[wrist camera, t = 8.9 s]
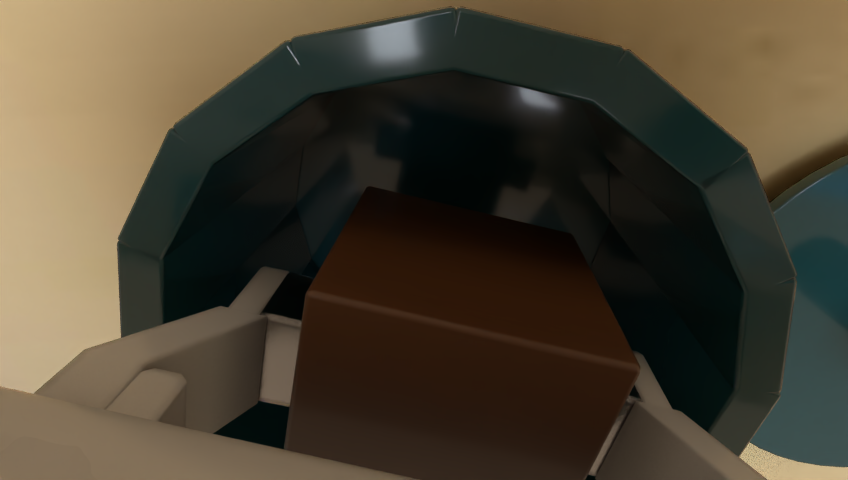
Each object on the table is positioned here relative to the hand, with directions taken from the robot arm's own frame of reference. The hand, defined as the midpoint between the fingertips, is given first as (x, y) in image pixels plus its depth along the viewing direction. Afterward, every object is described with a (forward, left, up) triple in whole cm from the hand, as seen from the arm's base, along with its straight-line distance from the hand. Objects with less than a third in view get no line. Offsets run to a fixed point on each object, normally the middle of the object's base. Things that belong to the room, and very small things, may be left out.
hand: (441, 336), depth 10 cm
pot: (0, 0, -7) cm, 7 cm away
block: (0, 0, -2) cm, 2 cm away
